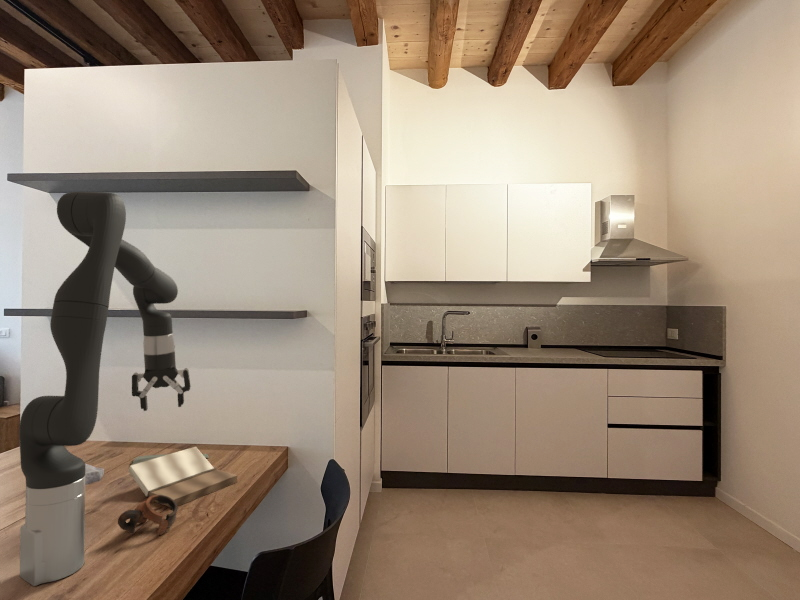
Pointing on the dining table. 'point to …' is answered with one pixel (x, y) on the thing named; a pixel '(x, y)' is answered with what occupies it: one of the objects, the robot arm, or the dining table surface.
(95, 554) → the dining table surface
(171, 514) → the brown ringed bracket
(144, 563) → the dining table surface
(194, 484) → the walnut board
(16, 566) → the dining table surface
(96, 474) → the stone block
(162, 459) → the ash plank
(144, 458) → the stone slab
